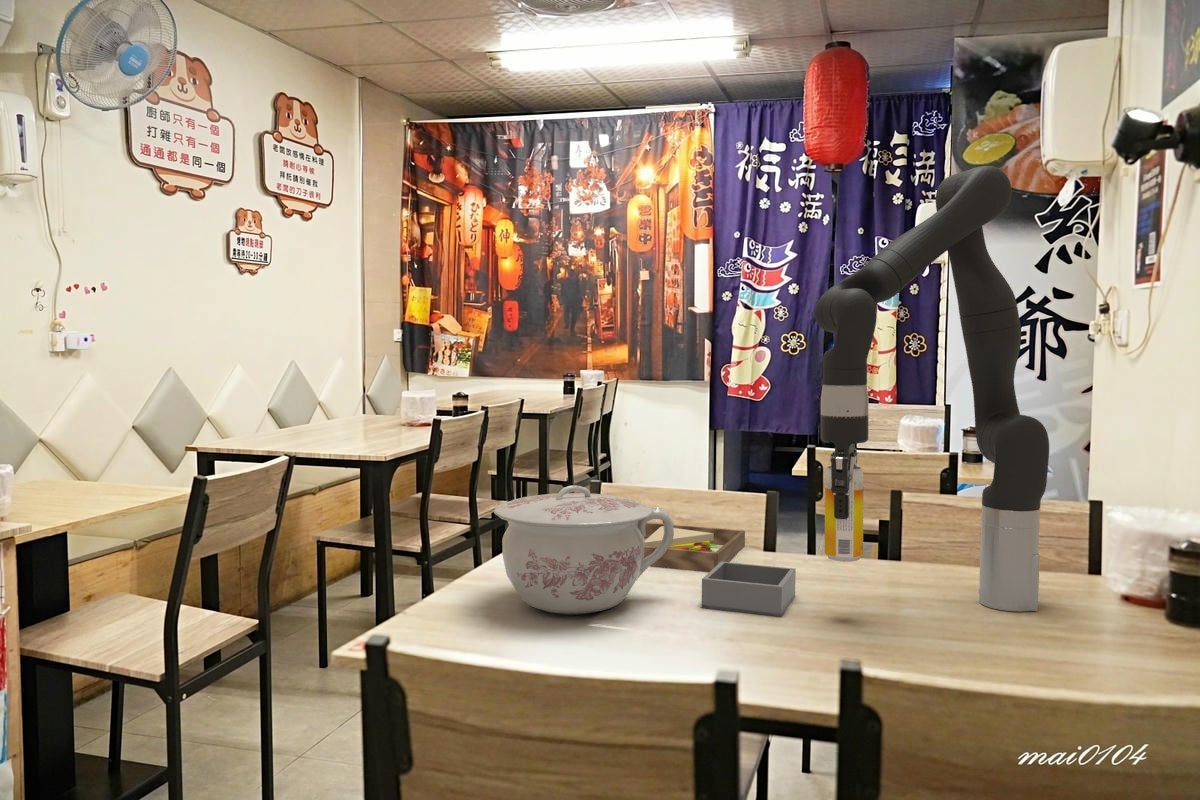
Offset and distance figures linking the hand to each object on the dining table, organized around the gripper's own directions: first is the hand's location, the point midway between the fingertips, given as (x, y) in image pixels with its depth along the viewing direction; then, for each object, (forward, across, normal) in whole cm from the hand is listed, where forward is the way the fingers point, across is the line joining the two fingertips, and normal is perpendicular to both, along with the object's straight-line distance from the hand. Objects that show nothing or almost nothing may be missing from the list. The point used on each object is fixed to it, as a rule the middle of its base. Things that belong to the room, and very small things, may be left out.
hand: (843, 514), depth 151 cm
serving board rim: (+17, +33, +38) cm, 53 cm away
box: (+17, +4, +16) cm, 24 cm away
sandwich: (+18, +32, +41) cm, 55 cm away
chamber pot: (+17, -9, +44) cm, 48 cm away
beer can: (+7, 0, 0) cm, 7 cm away
